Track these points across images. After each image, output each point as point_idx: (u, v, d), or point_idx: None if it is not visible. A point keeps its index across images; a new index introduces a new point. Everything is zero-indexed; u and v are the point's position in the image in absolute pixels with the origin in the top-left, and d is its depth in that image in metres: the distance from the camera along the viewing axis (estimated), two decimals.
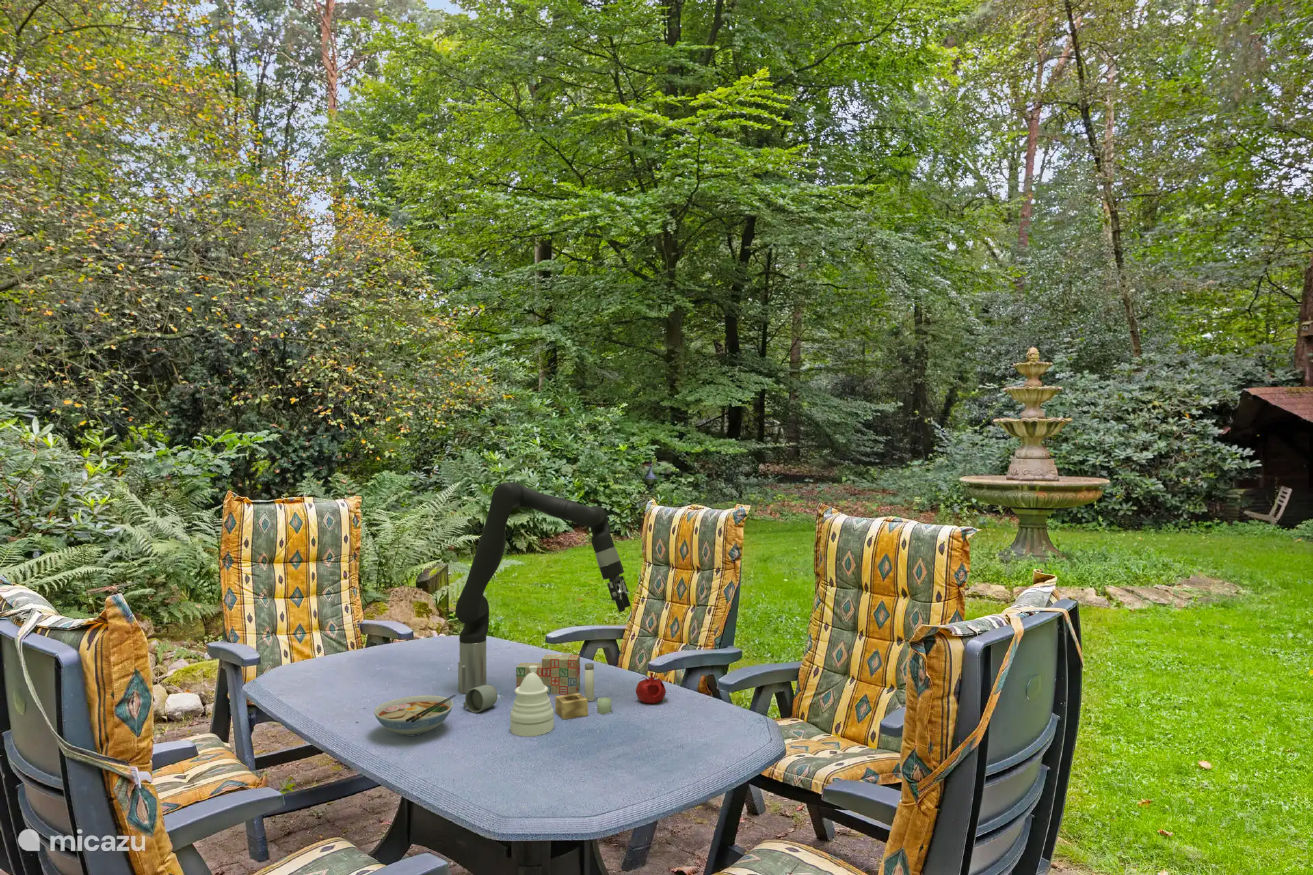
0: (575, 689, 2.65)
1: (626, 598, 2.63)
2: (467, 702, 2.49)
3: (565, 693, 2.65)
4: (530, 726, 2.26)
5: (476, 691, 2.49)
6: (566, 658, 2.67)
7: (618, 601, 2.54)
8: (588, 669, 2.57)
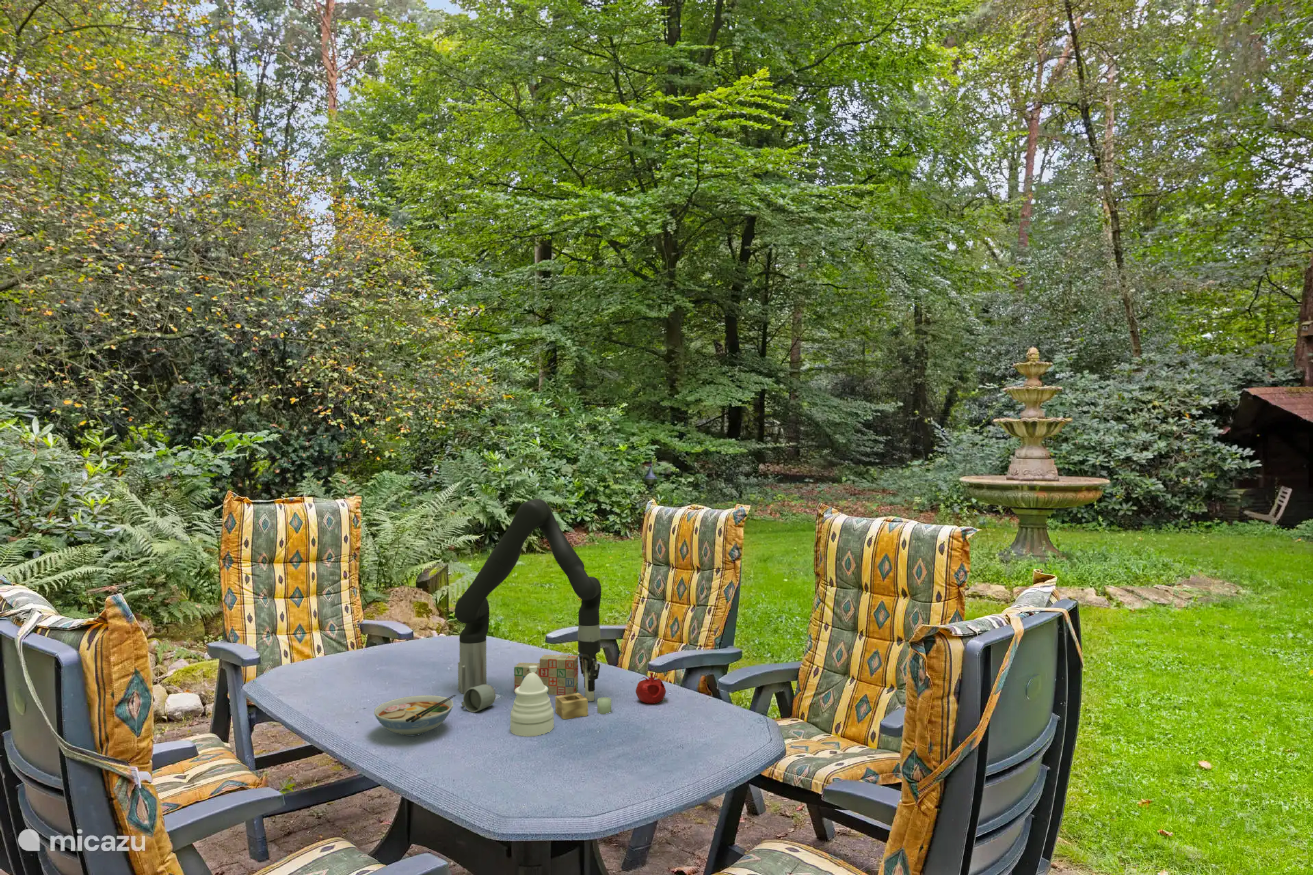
0: (572, 690, 2.64)
1: None
2: (465, 702, 2.50)
3: (563, 694, 2.65)
4: (530, 726, 2.26)
5: (474, 691, 2.49)
6: (564, 658, 2.66)
7: (592, 681, 2.56)
8: None
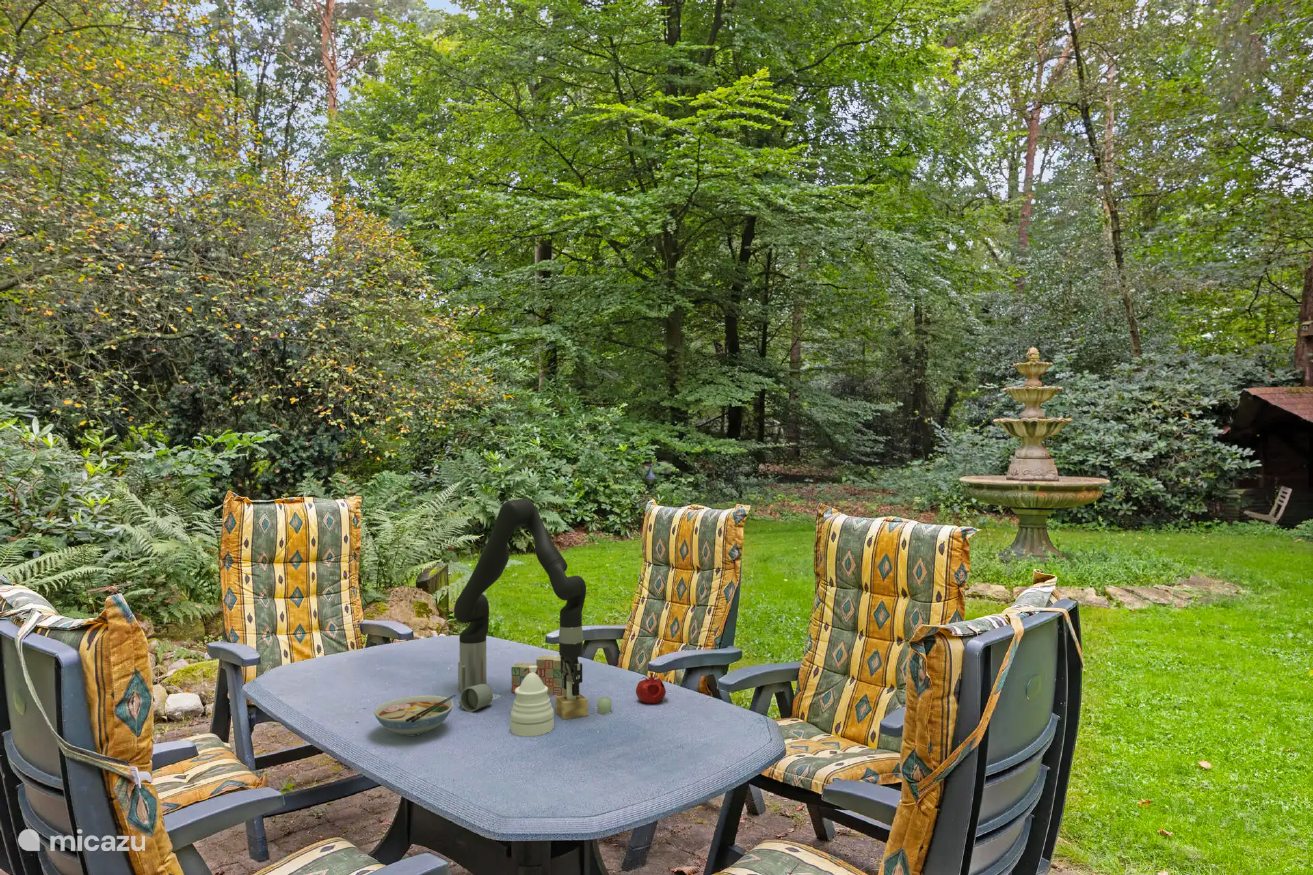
0: None
1: None
2: (462, 701, 2.50)
3: (559, 694, 2.64)
4: (530, 726, 2.26)
5: (471, 690, 2.50)
6: None
7: (577, 684, 2.41)
8: (570, 681, 2.44)
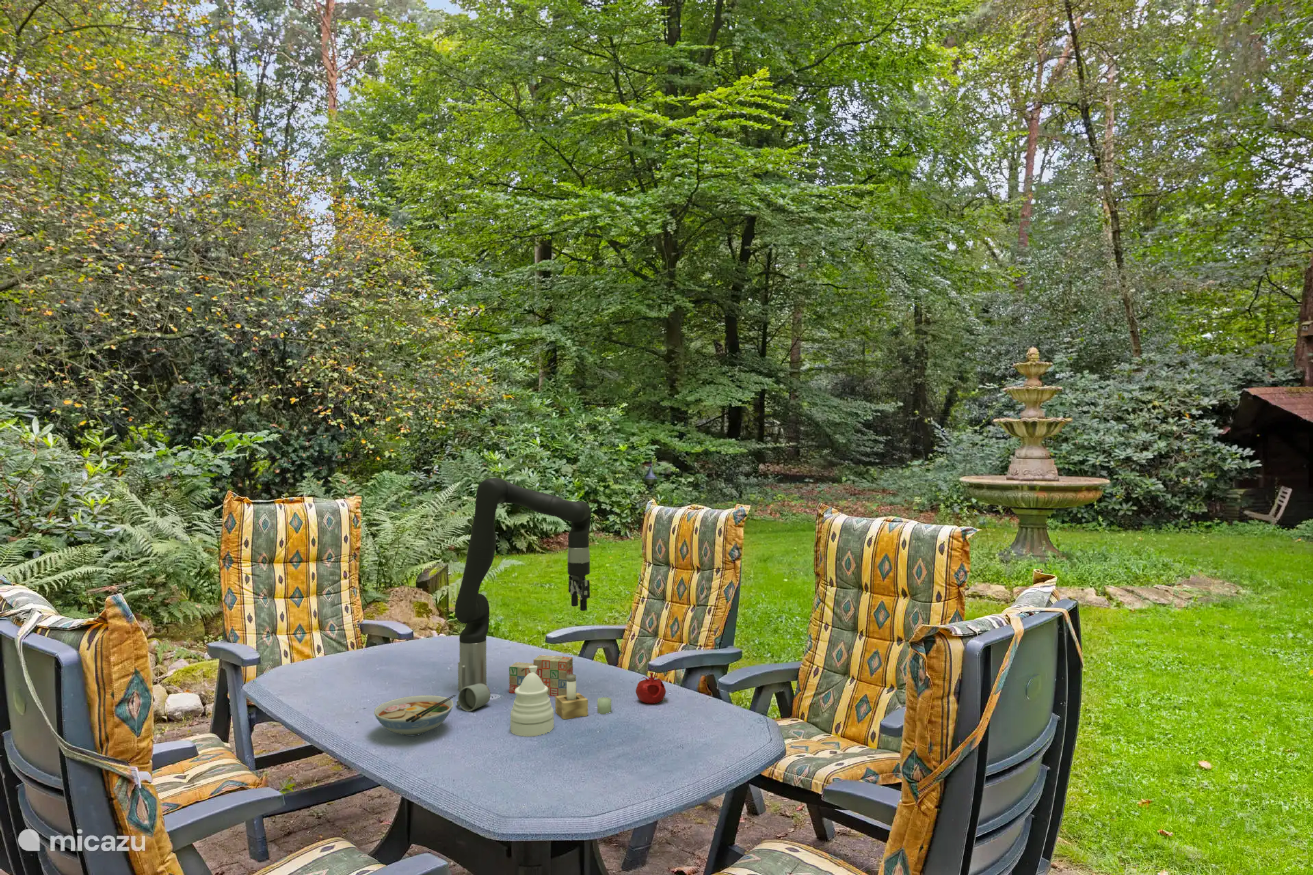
0: (565, 691, 2.62)
1: (576, 597, 2.66)
2: (460, 701, 2.51)
3: (556, 695, 2.63)
4: (530, 726, 2.26)
5: (469, 690, 2.50)
6: (557, 660, 2.65)
7: (584, 600, 2.57)
8: (570, 681, 2.44)
